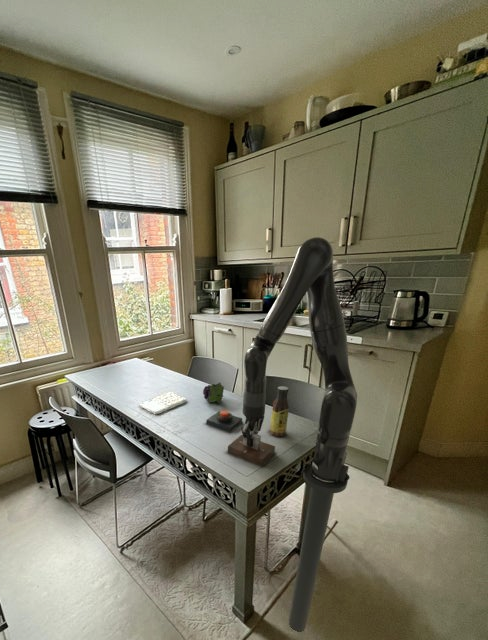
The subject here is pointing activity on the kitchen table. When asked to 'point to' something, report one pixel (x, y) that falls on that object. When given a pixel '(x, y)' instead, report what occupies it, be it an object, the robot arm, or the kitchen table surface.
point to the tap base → (251, 451)
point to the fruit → (213, 392)
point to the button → (224, 414)
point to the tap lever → (254, 441)
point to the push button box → (224, 422)
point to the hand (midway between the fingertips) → (251, 444)
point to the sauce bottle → (279, 412)
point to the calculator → (163, 403)
